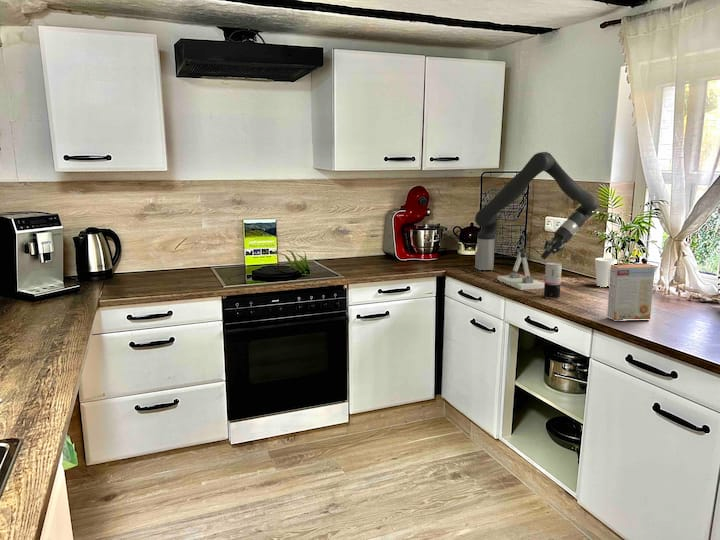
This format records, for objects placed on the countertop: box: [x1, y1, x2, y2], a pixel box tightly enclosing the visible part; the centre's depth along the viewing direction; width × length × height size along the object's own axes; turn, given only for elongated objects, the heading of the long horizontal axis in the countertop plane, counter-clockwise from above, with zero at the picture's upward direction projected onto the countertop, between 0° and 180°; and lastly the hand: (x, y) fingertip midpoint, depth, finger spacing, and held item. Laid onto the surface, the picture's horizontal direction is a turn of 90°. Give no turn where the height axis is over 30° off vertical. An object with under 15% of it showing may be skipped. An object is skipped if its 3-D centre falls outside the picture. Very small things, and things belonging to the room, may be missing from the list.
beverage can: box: [543, 261, 562, 300], centre depth 238 cm, size 7×7×15 cm
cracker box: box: [606, 263, 655, 320], centre depth 203 cm, size 14×6×21 cm, turn 92°
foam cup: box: [594, 257, 618, 288], centre depth 257 cm, size 10×9×13 cm
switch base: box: [496, 272, 545, 291], centre depth 265 cm, size 13×22×4 cm, turn 15°
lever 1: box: [511, 247, 526, 273], centre depth 269 cm, size 3×3×13 cm
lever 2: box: [520, 252, 531, 278], centre depth 257 cm, size 3×3×13 cm
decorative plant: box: [274, 248, 311, 275], centre depth 295 cm, size 18×30×15 cm, turn 18°
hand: (542, 258), depth 258 cm, fingers closed
